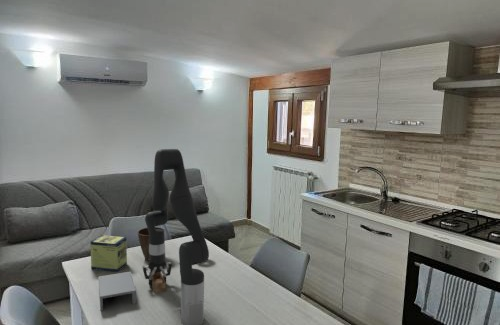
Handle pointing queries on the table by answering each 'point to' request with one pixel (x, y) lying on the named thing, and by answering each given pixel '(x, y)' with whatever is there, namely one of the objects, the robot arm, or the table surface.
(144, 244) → the plant pot
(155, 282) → the beige rounded lump
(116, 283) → the counter shelf
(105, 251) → the protein box
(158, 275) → the tray
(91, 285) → the table surface
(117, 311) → the table surface
